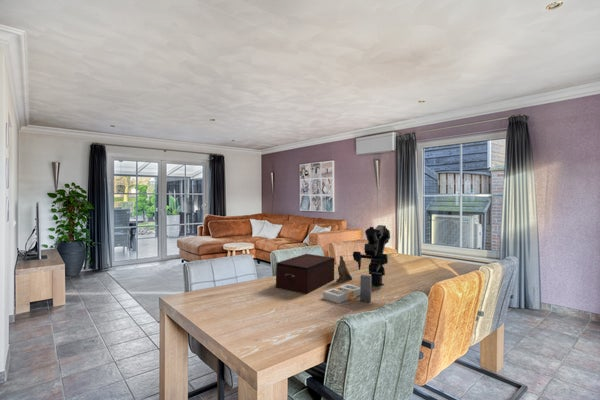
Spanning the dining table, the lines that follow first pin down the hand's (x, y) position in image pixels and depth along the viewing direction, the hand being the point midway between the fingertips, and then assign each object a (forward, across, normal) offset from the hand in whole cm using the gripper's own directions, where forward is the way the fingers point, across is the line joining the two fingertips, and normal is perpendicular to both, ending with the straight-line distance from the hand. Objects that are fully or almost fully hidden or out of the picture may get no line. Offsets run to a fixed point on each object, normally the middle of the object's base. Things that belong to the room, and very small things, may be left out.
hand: (367, 270), depth 175 cm
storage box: (+5, -40, +15) cm, 43 cm away
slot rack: (+14, -12, +6) cm, 19 cm away
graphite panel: (+16, +1, +4) cm, 17 cm away
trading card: (+34, -8, -12) cm, 37 cm away
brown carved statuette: (-8, -20, +27) cm, 34 cm away
